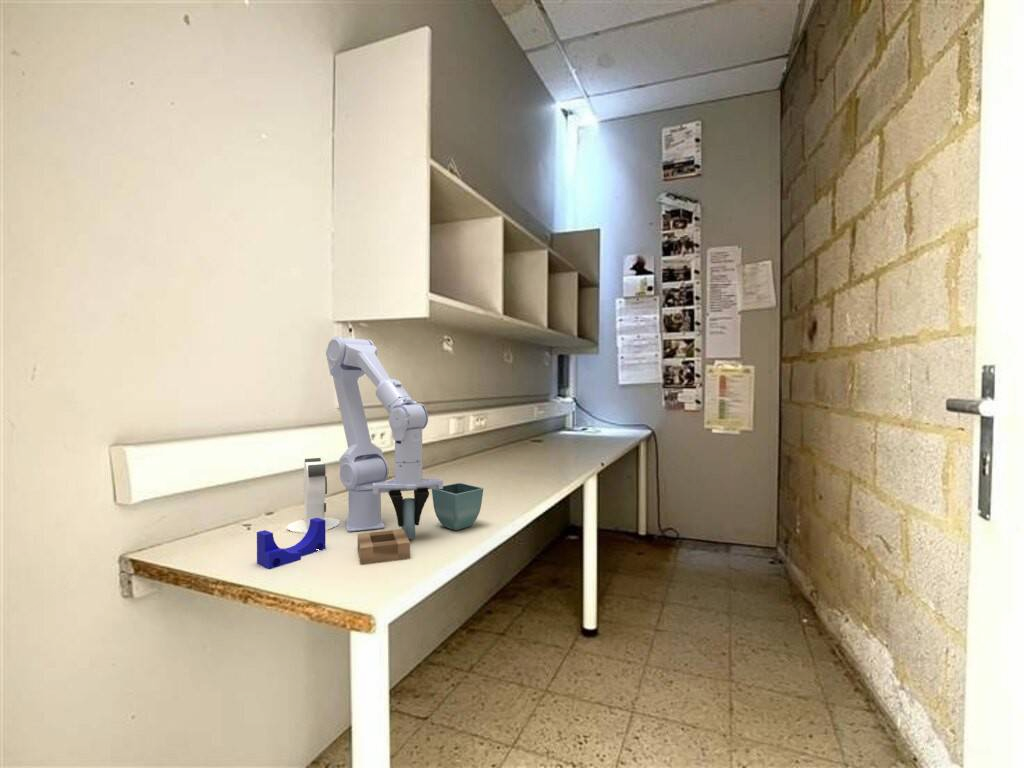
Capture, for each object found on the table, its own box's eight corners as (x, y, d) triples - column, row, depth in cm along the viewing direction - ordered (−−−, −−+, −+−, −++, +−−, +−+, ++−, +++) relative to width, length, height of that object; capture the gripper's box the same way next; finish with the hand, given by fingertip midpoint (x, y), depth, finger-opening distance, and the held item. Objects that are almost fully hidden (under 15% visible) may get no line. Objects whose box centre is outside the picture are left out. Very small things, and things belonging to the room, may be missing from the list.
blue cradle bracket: (268, 570, 87) (268, 536, 87) (256, 564, 90) (256, 532, 90) (329, 551, 97) (329, 521, 97) (317, 547, 99) (317, 517, 99)
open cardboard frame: (357, 548, 98) (357, 533, 98) (403, 543, 101) (403, 528, 101) (360, 564, 89) (360, 548, 89) (410, 558, 92) (410, 542, 92)
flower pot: (484, 526, 113) (484, 487, 113) (456, 535, 106) (456, 494, 106) (459, 518, 119) (459, 482, 119) (430, 527, 112) (430, 488, 112)
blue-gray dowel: (400, 535, 105) (400, 498, 105) (413, 534, 106) (413, 497, 106) (402, 539, 102) (402, 501, 102) (416, 538, 103) (416, 500, 103)
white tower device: (343, 529, 110) (343, 463, 110) (288, 537, 105) (288, 467, 105) (336, 516, 121) (336, 456, 121) (285, 522, 116) (285, 459, 116)
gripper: (374, 466, 97) (374, 534, 97) (446, 461, 102) (446, 526, 103) (371, 460, 104) (371, 524, 104) (439, 456, 109) (439, 517, 109)
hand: (408, 524), depth 104 cm, fingers closed on blue-gray dowel, 3 cm apart
